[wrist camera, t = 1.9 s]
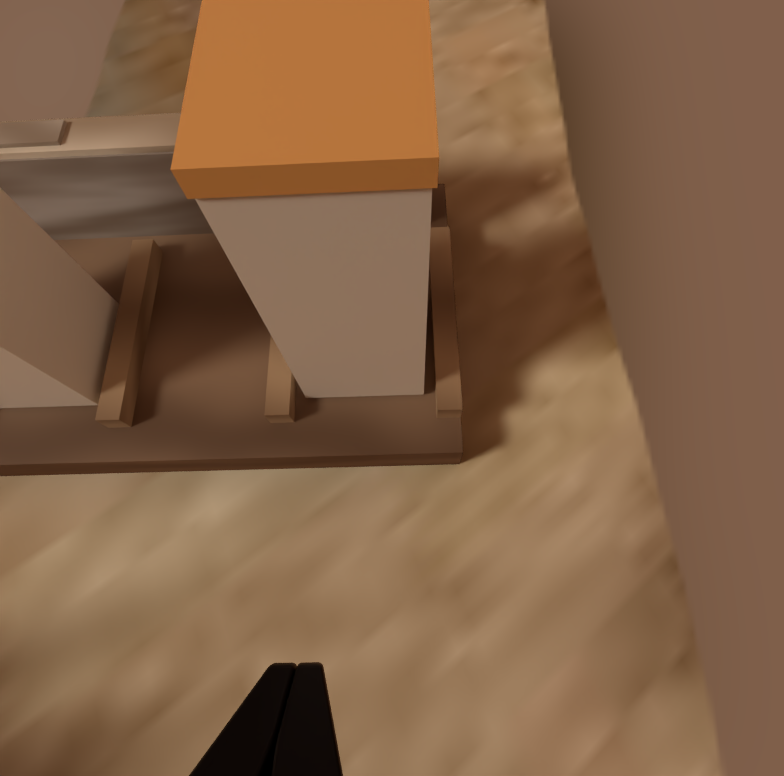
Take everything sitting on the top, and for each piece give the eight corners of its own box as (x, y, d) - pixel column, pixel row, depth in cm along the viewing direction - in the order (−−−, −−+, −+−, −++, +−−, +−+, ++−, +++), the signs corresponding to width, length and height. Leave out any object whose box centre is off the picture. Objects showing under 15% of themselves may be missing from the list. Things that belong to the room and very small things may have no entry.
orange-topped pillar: (426, 396, 22) (439, 157, 10) (303, 400, 22) (170, 169, 10) (421, 290, 24) (427, -16, 12) (308, 294, 24) (202, -4, 12)
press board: (459, 464, 23) (478, 406, 16) (-24, 476, 24) (-209, 427, 17) (442, 211, 28) (451, 84, 21) (47, 227, 29) (-70, 110, 22)
